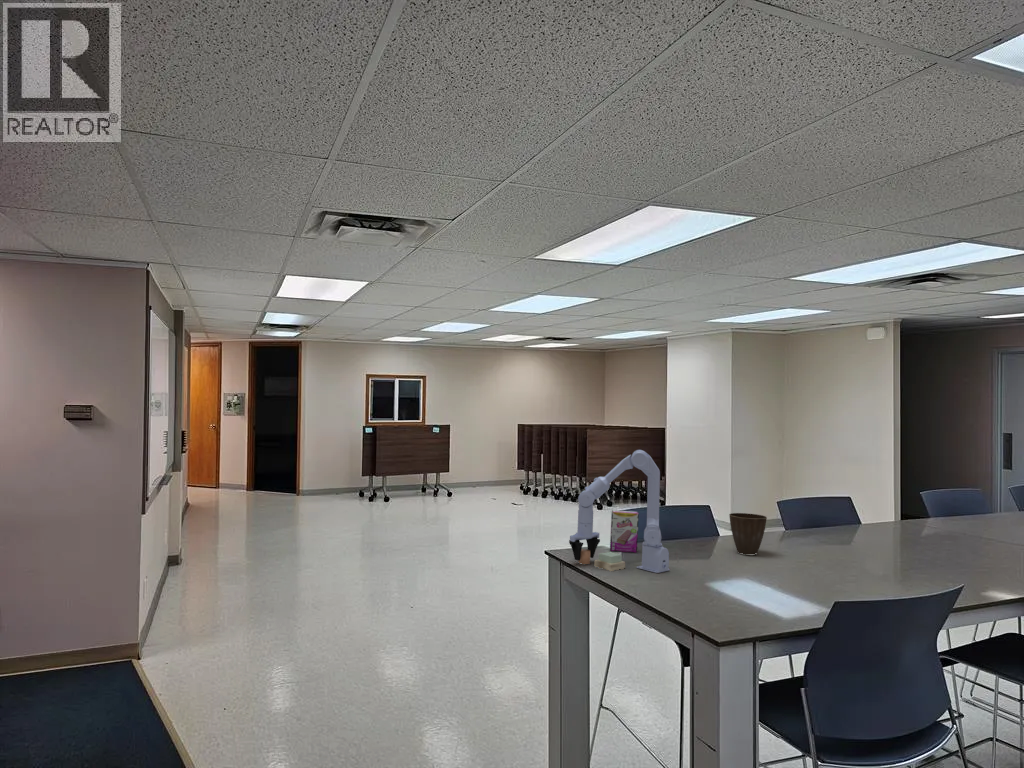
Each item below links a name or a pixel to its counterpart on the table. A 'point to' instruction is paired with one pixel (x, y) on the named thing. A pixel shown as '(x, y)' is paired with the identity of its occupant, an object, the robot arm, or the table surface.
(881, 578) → the table surface
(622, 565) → the tower base
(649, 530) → the robot arm
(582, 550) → the terracotta cylinder
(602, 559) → the tower top
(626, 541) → the candy bar box
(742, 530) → the plant pot
